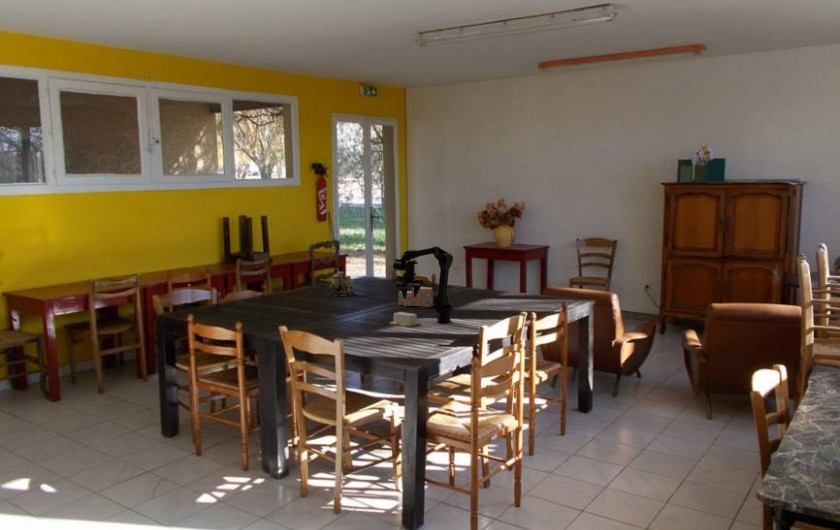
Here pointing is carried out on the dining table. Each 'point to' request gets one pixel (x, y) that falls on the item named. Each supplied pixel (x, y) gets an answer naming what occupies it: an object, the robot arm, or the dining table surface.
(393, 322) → the base
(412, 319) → the block
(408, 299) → the stack of blocks
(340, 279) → the owl figurine
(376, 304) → the dining table surface
